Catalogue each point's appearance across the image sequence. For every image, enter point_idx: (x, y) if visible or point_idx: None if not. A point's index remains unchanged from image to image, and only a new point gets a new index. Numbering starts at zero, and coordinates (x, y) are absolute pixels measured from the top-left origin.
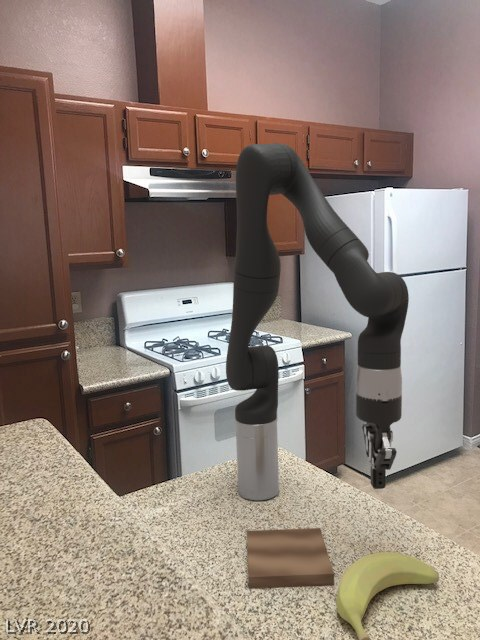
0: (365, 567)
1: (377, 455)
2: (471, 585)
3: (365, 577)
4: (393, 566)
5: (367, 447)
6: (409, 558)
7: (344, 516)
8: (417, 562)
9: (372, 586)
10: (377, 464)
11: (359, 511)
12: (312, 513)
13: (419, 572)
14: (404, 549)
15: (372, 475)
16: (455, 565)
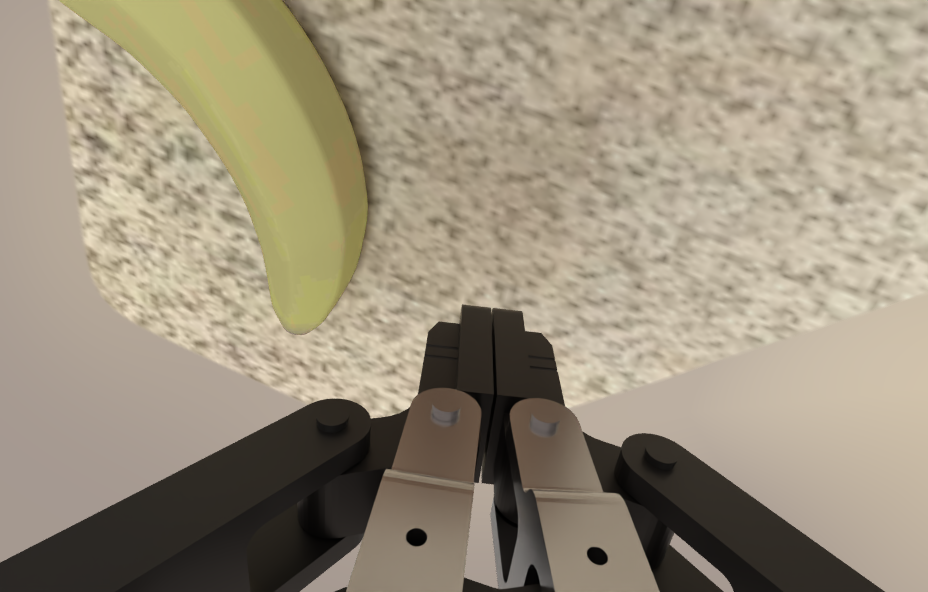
0: (168, 51)
1: (175, 551)
2: (297, 393)
3: (131, 32)
4: (244, 192)
5: (557, 528)
6: (289, 271)
7: (802, 164)
8: (287, 290)
9: (136, 57)
10: (226, 456)
11: (809, 241)
12: (906, 13)
13: (268, 276)
14: (504, 297)
15: (467, 352)
16: (392, 398)
